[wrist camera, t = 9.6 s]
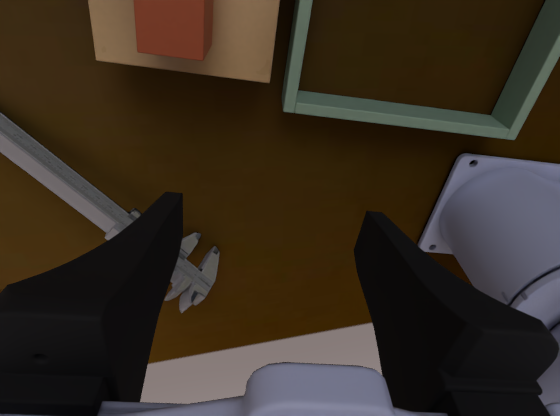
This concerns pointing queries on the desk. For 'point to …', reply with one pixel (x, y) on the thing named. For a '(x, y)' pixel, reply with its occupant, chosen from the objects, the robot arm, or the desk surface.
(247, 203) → the desk surface
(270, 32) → the l-shaped wooden board
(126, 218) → the caliper
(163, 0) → the white bar red tip
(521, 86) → the rectangular frame
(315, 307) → the desk surface
